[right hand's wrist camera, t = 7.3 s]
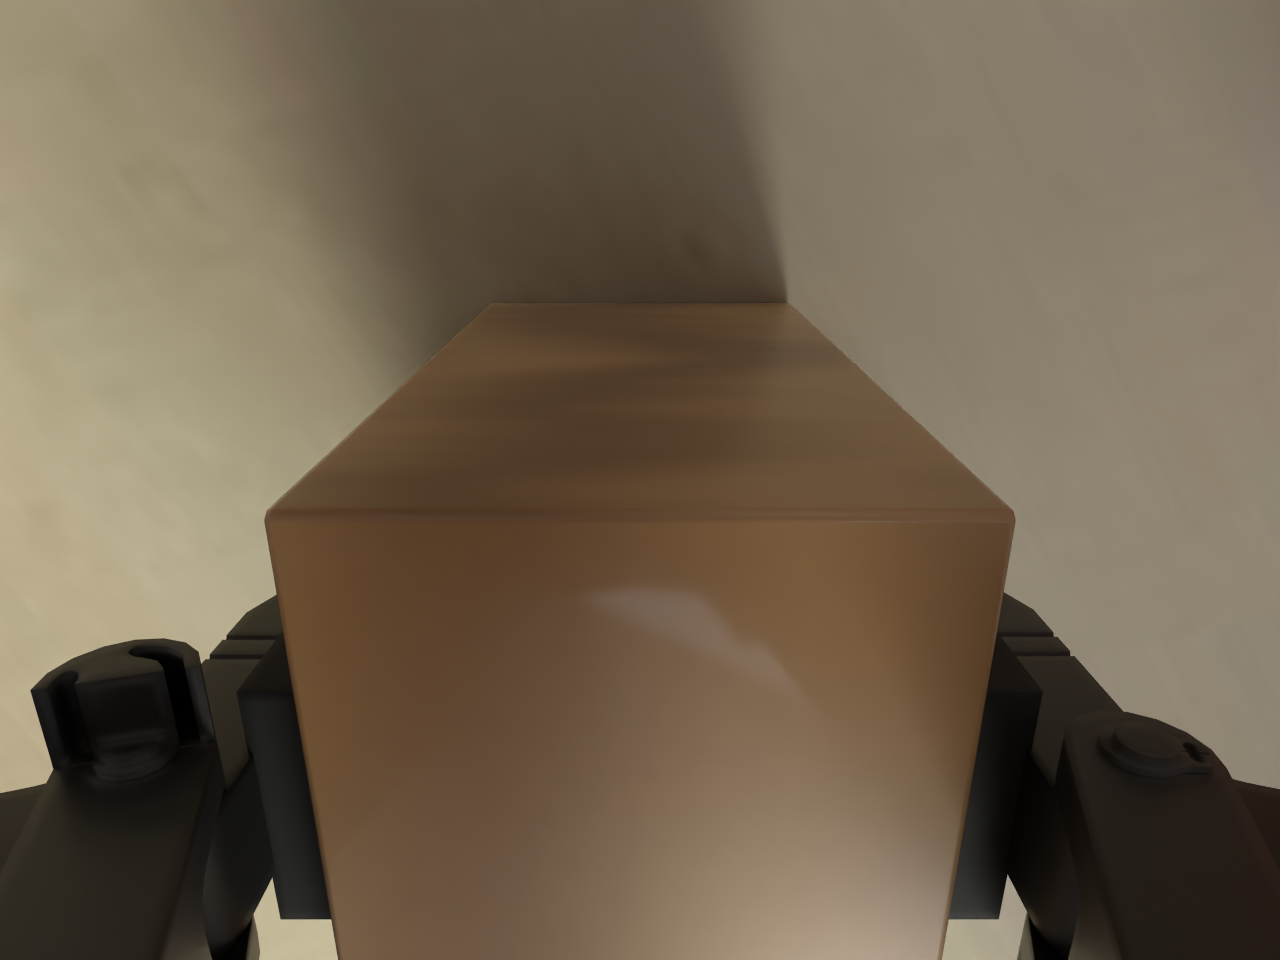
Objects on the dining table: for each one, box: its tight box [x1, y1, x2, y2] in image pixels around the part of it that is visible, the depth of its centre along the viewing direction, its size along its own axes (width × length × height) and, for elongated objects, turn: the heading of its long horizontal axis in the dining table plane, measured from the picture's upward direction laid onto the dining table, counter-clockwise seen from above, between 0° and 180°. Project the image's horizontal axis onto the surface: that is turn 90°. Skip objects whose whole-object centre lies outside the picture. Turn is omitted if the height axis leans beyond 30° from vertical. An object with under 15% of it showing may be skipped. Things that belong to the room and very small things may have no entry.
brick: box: [265, 303, 1015, 960], centre depth 12 cm, size 6×7×10 cm
